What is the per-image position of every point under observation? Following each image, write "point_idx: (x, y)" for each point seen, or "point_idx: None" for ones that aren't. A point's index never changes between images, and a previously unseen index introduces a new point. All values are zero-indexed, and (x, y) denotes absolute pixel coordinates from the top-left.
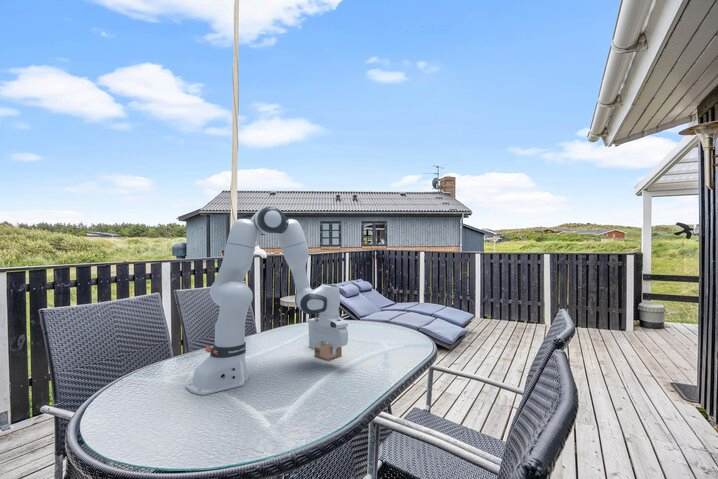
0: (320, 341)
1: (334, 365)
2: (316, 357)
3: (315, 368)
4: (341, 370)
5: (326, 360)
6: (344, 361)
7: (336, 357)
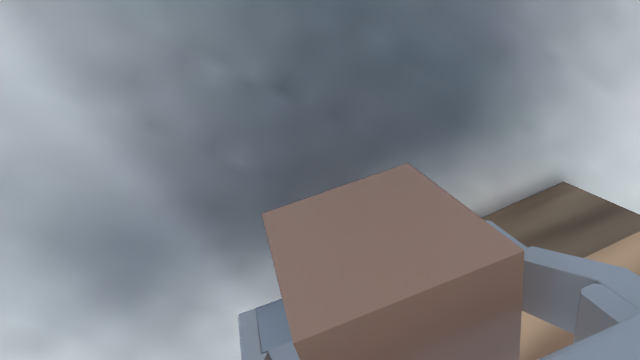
0: (618, 304)
1: None
2: (545, 190)
3: (324, 59)
4: (139, 265)
5: None
6: None
7: None
